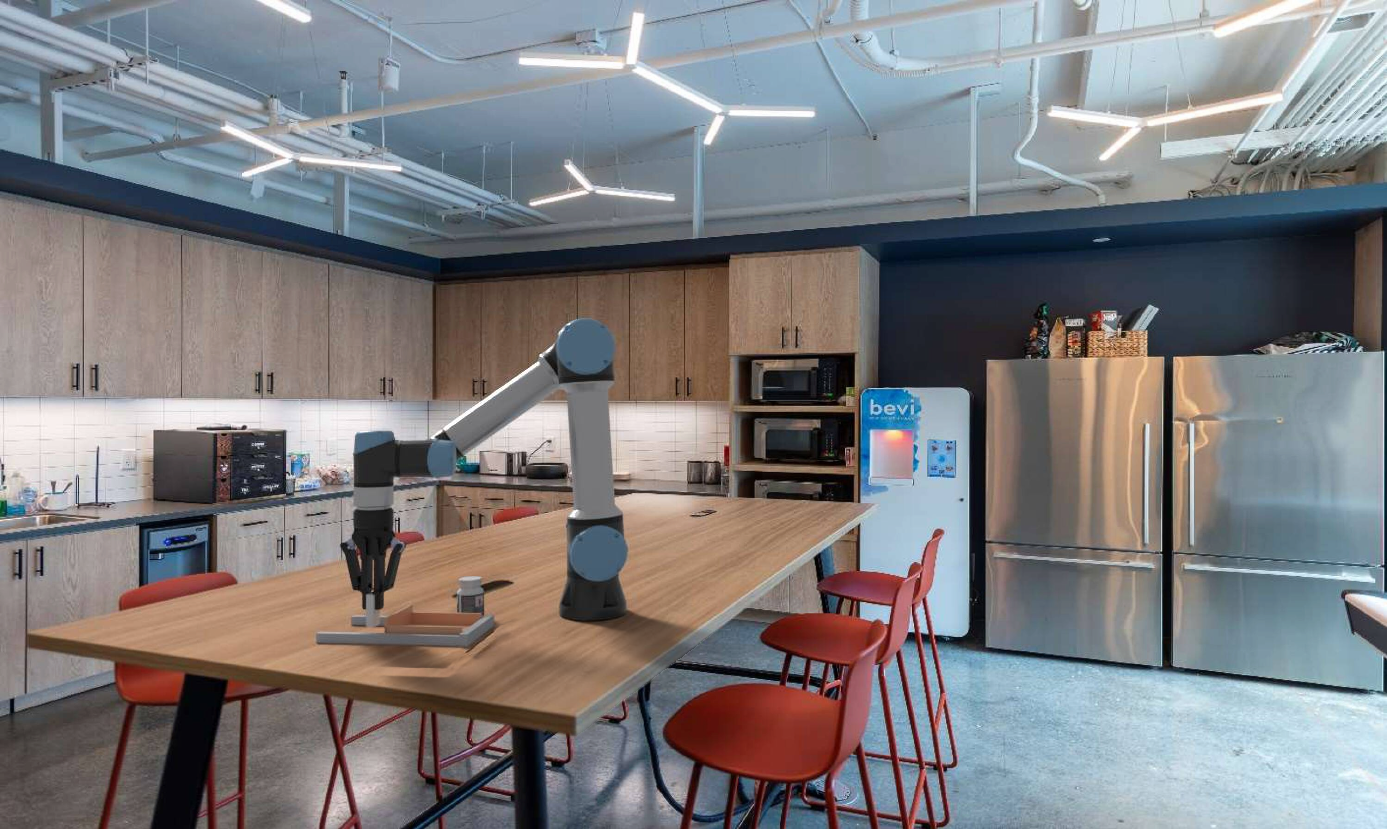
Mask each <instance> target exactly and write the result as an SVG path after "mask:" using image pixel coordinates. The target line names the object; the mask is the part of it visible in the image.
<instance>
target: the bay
mask: <svg viewBox="0 0 1387 829" xmlns="http://www.w3.org/2000/svg"><path fill="white" fill-rule="evenodd" d="M387 616H388V615H380V624H379V625H378V626H382V627H383V626H384V627H385V617H387ZM350 625H351V626H366V614H365V615H363V614H354V615H352V616H350ZM494 626H495V615H494V614H485V615H484V617H483V618H481V619H480V620H478V621H477V622H476V623H474V624H473V625H471V626H470V627H469V628H467V629H466V630H464V631H463V632H462V633H460V634H459V635H451V634H404V633H385V632H355V631H354V632H353V631H352V632H350V631H348V632H346V631H343V632H342V631H336V632H335V631H318V632H316V634H315V636H316V637H315V640H316V641H315V642H316V643H317V644H318V643H322V644H323V643H324V644H325V643H329V644H363V645H364V644H366V645H411V646H422V645H423V646H452V647H453V646H457V647H468V646H470V645H471V644H472V643H474V642H475V641H476V640H477V639H479V638H480V637H482V636H484V634H485V633H487V632H488V631H489V630H491V629H492V628H494ZM494 632H495V630H494V629H493V630H492V631H491V632H489V633H488V634H487V635H485V637H483V638H482V639H480V641H478V642H476V643H475V645H473V646H471V648H469V649H467V651H466V652H464V654H468V653H469V652H471V651H472V650H473V649H474V648H475V647H477V646H478V645H480V644H481V643H482V642H483V641H485V640H486V639H487V638H488V637H489V636H491V635H492V634H493V633H494Z"/></svg>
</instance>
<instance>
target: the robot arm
mask: <svg viewBox="0 0 1387 829" xmlns="http://www.w3.org/2000/svg"><path fill="white" fill-rule="evenodd" d="M615 352H616V342H615V338H614V336H613V335H612V333H611V331H610V329H609V328H608V327H607V326H606V325H605V324H603V323H602V322H601V321H600V320H599V321H598V320H596V319H594V318H589V317H588V318H587V317H585V318H584V317H583V318H582V317H581V318H577V319H574V320H571V321H569V322H567V323H566V324H564V326H563V327H562V328H561V329H560V331H559V332H558V334H557V336H556V341H555V342H554V343H553V344H552V345H551V346H550V347H548V348H547V349H546V350H545V351H543V352H542V353H540V354H539V355H538V359H537V360H538V361H537V362H535V363H534V364H532V365H531V366H530V367H529V368H527V369H525V370H524V371H523V372H521V373H519V375H517V376H516V377H514V378H512V379H511V380H509V382H507V383H506V384H504V385H502V386H501V387H500V388H498V389H497V390H495V391H494V392H493V393H491V394H490V395H488V396H487V397H485V398H484V399H483V400H481V401H480V402H479V403H477V404H476V405H474V406H473V407H471V408H469V409H468V410H467V411H465V412H464V413H462V414H461V415H459V416H458V417H457V418H456V419H454V420H452V421H451V422H450V423H449V424H447V425H446V426H444V427H443V428H441V429H440V430H438V431H437V432H435V433H434V434H433V435H431V436H430V437H428V438H427V439H423V440H422V439H418V440H417V439H414V440H413V439H412V440H402V439H401V440H399V439H396V437H395V433H394V432H393V430H380V429H379V430H378V429H377V430H359V431H357V432H356V433H355V435H354V445H353V453H352V455H353V457H352V458H353V500H352V501H353V502H352V505H353V506H354V510H353V512H352V515H353V516H352V517H353V518H352V519H353V520H352V522H353V523H352V525H353V531H352V534H351V538H349V539H347V540H346V541H343V542H341V543H339V547H340V549H341V551H342V552H343V554H344V557H345V561H346V565H347V570H348V575H349V579H350V580H349V581H350V583H351V587H352V590H353V591H358V592H360V593H361V607H362V610H366V611H365V615H366V625H365V628H370V629H371V628H376V627H378V626H379V624H380V616H381V615H380V610H382V609H384V606H385V592H387V591H390V590H392V589H393V588H394V586H395V582H396V577H397V574H398V570H399V565H400V562H401V561H400V560H401V556H402V554H403V552H404V551H405V549H406V548H407V545H408V544H407V542H405V541H402V542H401V541H400V540H399V539H397V538H396V533H395V532H394V518H395V517H394V513H395V512H394V509H393V508H392V506H393V505H394V502H395V501H394V500H395V499H394V496H395V495H394V493H395V492H394V490H395V489H394V485H395V482H394V481H395V478H435V479H440V478H450V477H453V476H454V475H455V473H456V470H457V462H458V460H460V459H462V458H463V457H465V456H466V455H467V454H468V453H470V452H471V451H472V450H474V449H475V448H477V447H478V446H480V445H481V444H482V443H484V442H486V441H487V440H488V439H490V438H491V437H492V436H494V435H495V434H497V433H498V432H500V431H501V430H502V429H504V428H505V427H507V426H508V425H509V424H511V423H512V422H514V421H515V420H517V419H518V418H520V417H521V416H523V414H525V413H527V412H528V411H529V410H531V409H533V408H534V407H536V406H537V405H538V404H539V403H541V402H542V401H543V400H545V399H547V398H548V397H549V396H551V395H552V394H554V393H555V392H557V390H561V391H562V390H563V391H564V392H565V394H566V401H567V402H566V405H567V419H568V434H569V451H570V465H571V468H570V470H571V481H572V482H571V484H572V497H573V498H572V499H573V507H572V509H571V511H570V512H569V513H568V514H567V516H566V522H565V528H566V581H565V584H564V588H563V591H562V595H561V598H560V601H559V605H558V609H559V611H558V612H559V613H558V614H559V616H560V617H562V618H565V619H568V620H573V621H589V622H590V621H603V620H610V619H611V620H612V619H616V618H619V617H622V616H624V615H625V614H626V613H627V606H628V604H627V599H626V596H625V594H624V590H623V587H622V584H621V581H620V576H619V575H620V574H619V573H620V572H621V571H622V569H623V568H624V566H625V564H626V562H627V560H628V553H629V552H628V551H629V548H628V543H627V540H626V539H625V530H624V529H625V528H624V513H623V510H622V509H620V508H619V507H618V506H617V505H616V502H615V501H616V500H615V497H616V496H615V485H614V469H613V452H612V435H611V421H610V404H609V403H610V402H609V390H610V388H611V387H612V386H613V385H614V384H615V382H616V381H615V367H614V356H615ZM390 546H391V547H390ZM356 548H357V549H358V550H359V553H360V554H359V556H358V552H357V549H356ZM389 548H390V550H391V552H390V556H389V559H388V563H387V567H386V558H387V551H388V549H389ZM359 559H360V560H361V562H360V560H359ZM360 563H361V564H360Z"/></svg>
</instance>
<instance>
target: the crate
mask: <svg viewBox="0 0 1387 829" xmlns="http://www.w3.org/2000/svg"><path fill="white" fill-rule="evenodd" d="M413 606H414V605H413V604H408V605H407V606H404V607H402V608H401V609H398V610H397V611H395V612H393V613H391V614H390V615H386V616H387V617H385V626H384V633H404V634H451V635H459V634H460V633H462V632H463V631H464V630H466V629H467V628H469V627H470V626H471V625H473V624H474V623H476V622H477V621H478V620H480V619H481V618H482V613H457V612H444V611H441V612H439V611H438V612H437V611H436V612H435V611H434V612H431V611H414V608H413Z"/></svg>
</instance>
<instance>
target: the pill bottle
mask: <svg viewBox="0 0 1387 829" xmlns="http://www.w3.org/2000/svg"><path fill="white" fill-rule="evenodd" d="M482 583H483V582H482V576H473V575H472V576H464V577H460V578H459V579H458V585H459V586H460V587H459V588H458V590H457V591H456V613H482V618H483V617H484V616H485V591H484V588H483V587H481V586H482Z"/></svg>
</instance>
